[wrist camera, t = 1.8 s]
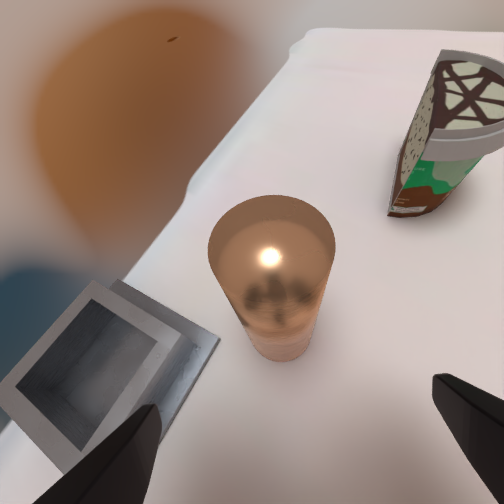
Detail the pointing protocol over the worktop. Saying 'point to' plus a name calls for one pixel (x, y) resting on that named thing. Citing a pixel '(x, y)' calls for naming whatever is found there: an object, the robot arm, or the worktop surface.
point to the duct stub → (103, 370)
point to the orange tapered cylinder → (274, 270)
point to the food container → (449, 131)
